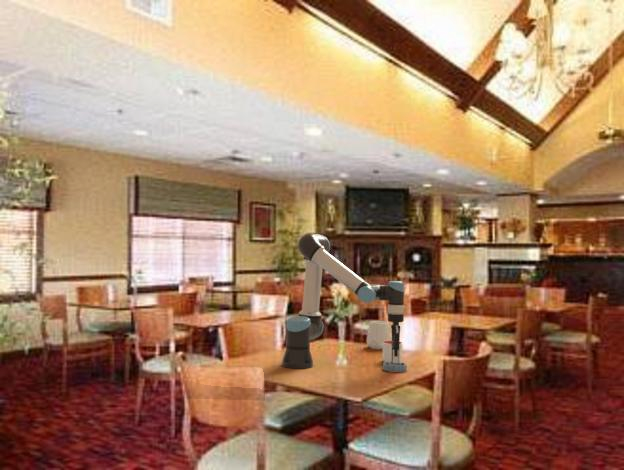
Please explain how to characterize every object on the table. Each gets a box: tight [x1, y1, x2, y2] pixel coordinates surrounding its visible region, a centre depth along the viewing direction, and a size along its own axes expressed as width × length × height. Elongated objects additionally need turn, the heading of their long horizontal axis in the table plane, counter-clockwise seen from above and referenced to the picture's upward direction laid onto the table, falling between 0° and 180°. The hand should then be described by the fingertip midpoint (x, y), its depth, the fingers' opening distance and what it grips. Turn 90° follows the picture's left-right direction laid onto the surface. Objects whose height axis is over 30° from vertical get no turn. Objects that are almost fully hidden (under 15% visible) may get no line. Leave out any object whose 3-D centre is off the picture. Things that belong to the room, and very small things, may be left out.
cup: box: [381, 340, 403, 363], centre depth 301 cm, size 10×10×10 cm
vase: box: [366, 320, 392, 350], centre depth 342 cm, size 14×14×15 cm
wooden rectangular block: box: [391, 339, 399, 364], centre depth 282 cm, size 3×2×11 cm
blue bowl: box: [382, 361, 408, 373], centre depth 282 cm, size 11×11×4 cm
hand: (395, 362), depth 282 cm, fingers closed on wooden rectangular block, 2 cm apart
